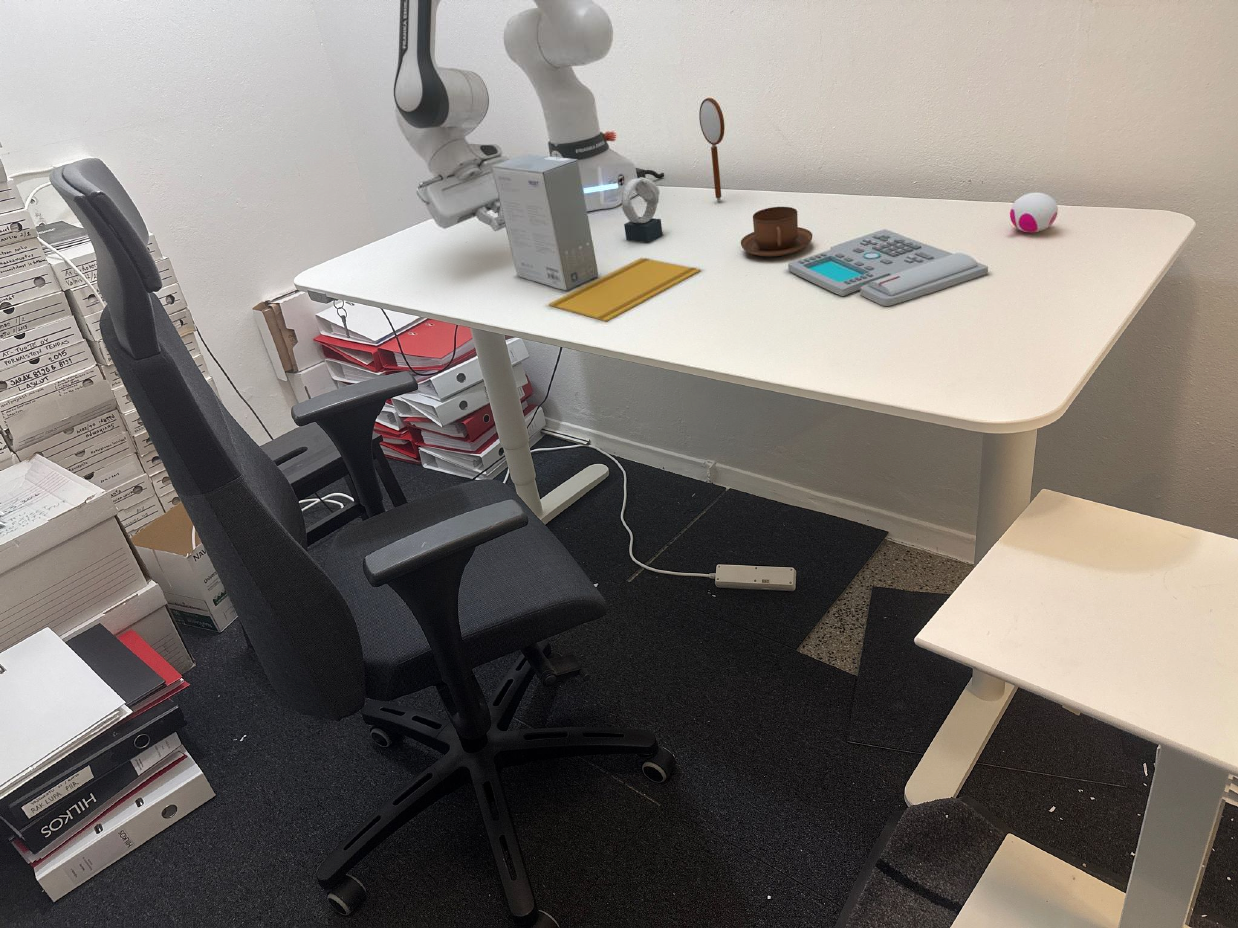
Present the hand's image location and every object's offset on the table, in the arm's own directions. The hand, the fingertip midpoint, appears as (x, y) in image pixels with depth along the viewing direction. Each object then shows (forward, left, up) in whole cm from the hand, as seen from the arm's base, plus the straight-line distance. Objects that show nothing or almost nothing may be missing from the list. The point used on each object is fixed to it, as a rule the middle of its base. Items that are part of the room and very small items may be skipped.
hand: (502, 227), depth 150 cm
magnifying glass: (-44, +14, -8) cm, 47 cm away
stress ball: (-47, +75, -8) cm, 89 cm away
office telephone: (-24, +63, -8) cm, 68 cm away
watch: (-22, +14, -8) cm, 27 cm away
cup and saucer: (-26, +42, -8) cm, 50 cm away
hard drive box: (0, +13, -8) cm, 15 cm away
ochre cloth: (-2, +29, -8) cm, 30 cm away
